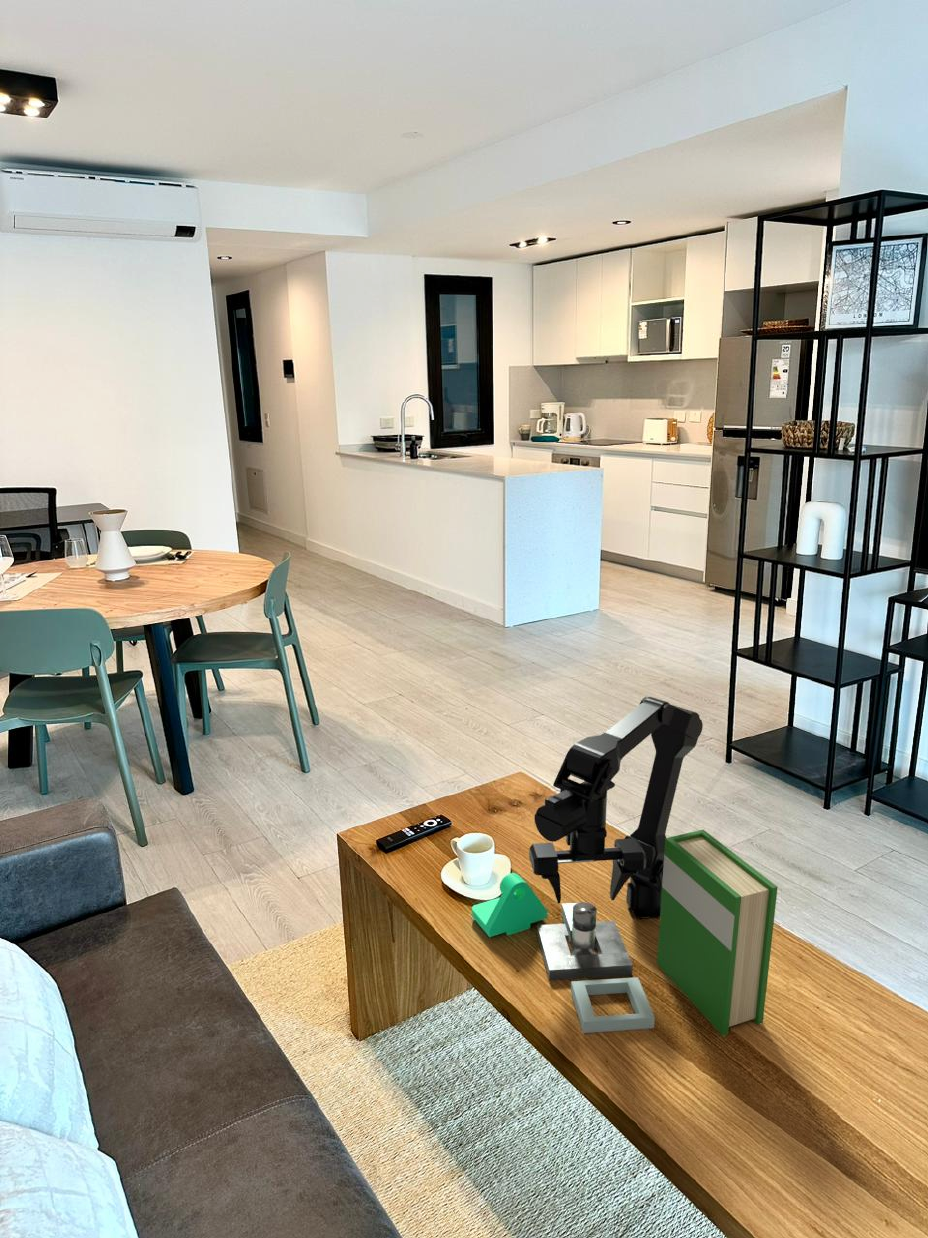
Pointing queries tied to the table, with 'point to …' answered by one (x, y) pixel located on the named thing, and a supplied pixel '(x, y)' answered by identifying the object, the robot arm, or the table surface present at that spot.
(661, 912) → the hardback book
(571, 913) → the grey rectangular block
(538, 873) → the robot arm
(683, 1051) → the table surface
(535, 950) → the table surface
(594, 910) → the chrome metal cylinder
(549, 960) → the socket block
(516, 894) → the camera mount
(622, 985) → the square frame
